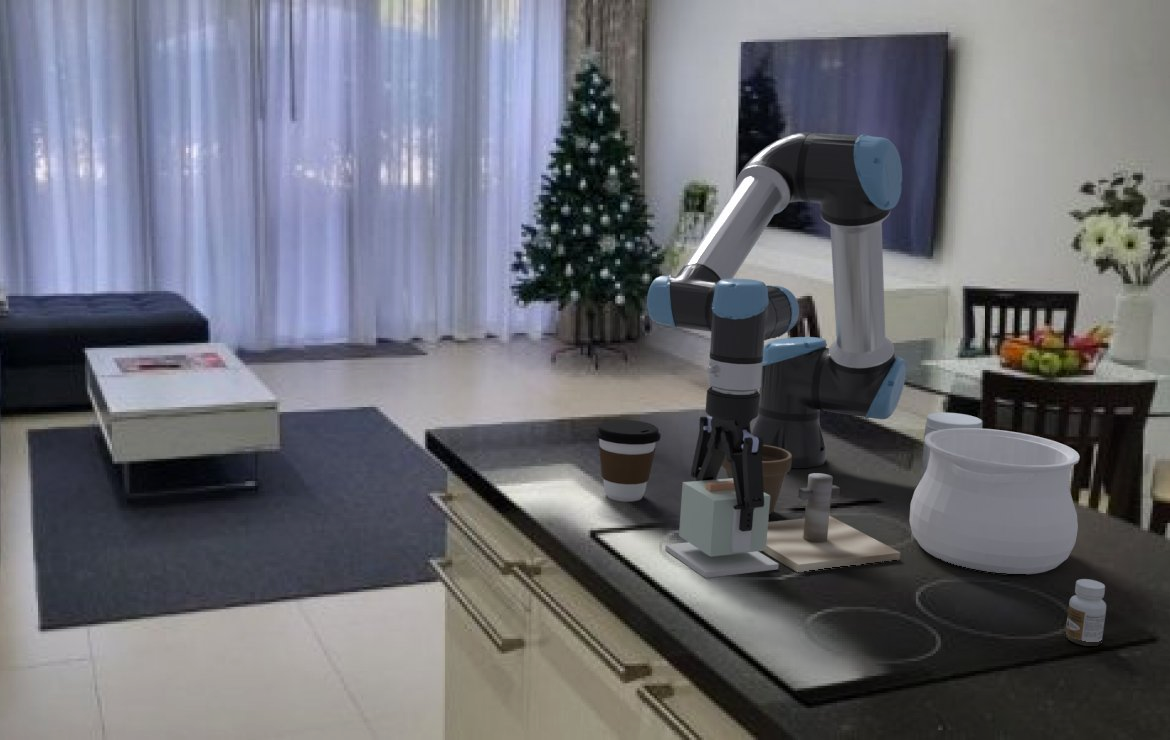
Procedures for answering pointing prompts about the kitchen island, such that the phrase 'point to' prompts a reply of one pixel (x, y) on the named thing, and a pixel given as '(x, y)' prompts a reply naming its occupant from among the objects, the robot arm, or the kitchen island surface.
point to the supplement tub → (945, 422)
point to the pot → (996, 501)
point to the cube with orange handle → (717, 517)
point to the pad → (720, 561)
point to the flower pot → (770, 471)
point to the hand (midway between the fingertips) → (722, 539)
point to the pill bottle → (1087, 611)
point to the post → (822, 535)
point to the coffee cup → (626, 457)
